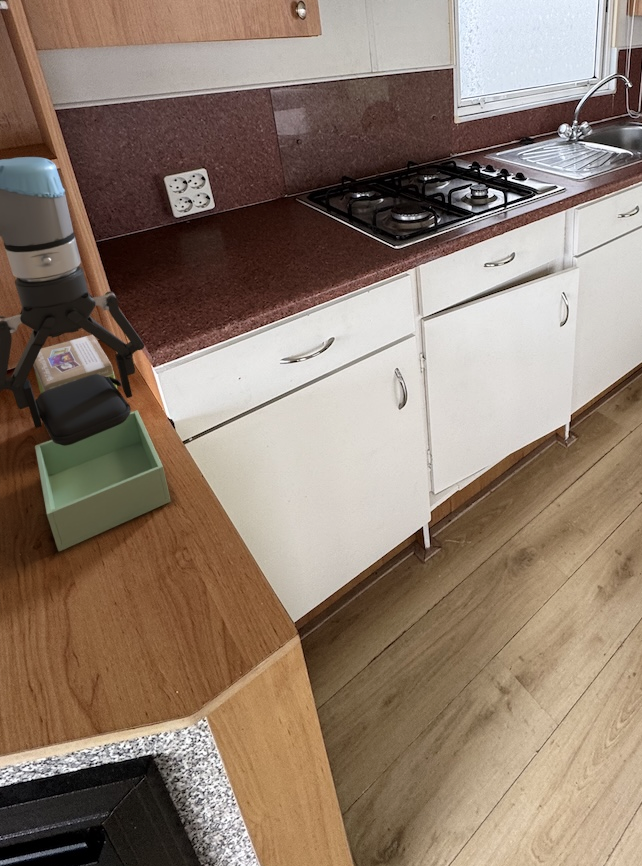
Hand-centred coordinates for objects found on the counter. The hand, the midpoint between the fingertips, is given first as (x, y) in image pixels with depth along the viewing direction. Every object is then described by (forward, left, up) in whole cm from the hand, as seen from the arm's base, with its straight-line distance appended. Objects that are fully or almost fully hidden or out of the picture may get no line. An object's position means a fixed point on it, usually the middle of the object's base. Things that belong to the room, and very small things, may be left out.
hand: (84, 407), depth 86 cm
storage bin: (0, 0, -16) cm, 16 cm away
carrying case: (0, 0, -2) cm, 2 cm away
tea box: (-3, +20, -16) cm, 26 cm away
